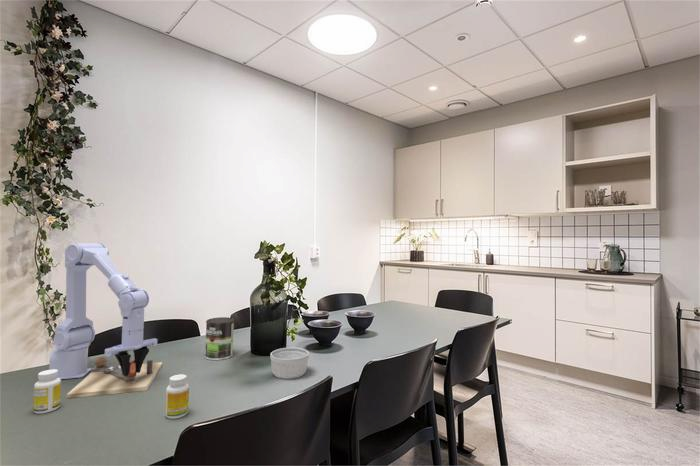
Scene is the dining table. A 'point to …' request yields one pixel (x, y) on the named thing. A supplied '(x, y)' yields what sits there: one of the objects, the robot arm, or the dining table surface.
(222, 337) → the coffee can
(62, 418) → the dining table surface
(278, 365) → the ramekin
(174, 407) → the supplement bottle
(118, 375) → the lever
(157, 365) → the board
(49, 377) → the supplement bottle
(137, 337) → the robot arm
